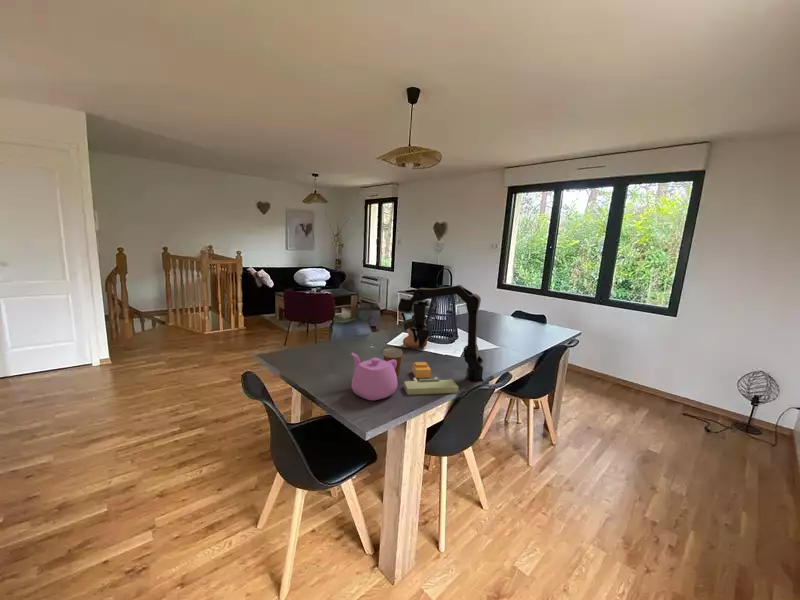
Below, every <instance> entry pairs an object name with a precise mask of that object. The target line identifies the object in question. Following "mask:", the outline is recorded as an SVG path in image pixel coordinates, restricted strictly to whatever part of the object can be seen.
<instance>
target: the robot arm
mask: <svg viewBox="0 0 800 600" xmlns="http://www.w3.org/2000/svg"><path fill="white" fill-rule="evenodd" d="M452 295H457V296H458V297H459V298H460V299H461V300H462V301H463V302H464V303H465V305H466V306H465V307H466V310H467V313H468V317H467V318H468V322H467V323H468V324H467V325H468V326H467V345H465V346H464V348H463V356H462V358H464V361H465V362H466V363H467V368H466V373H465V377H466V378H467V379H468V380H469V381H470V382H484V379H483V372H484V367H483V365H482V364H483V363H484V359H483V358H482V356H480V351H479V347H478V344H477V343H478V338H477V337H478V314H479V310H480V306H481V300H482V299H481V298H482V297H480V295H479V294H477V293H473V292H471V291H470V290H468V289H467V288H465V287H464V286H463V285H461V284H456V285H452V286H445V287H437V288H429V287H420V288H417V289H415V290H414V291H413V295H412V296H411V298H404V297H401V298H400V299H399V302H398V306H397V309H398V312H400V313H406V314H411V313H412V312H413V315H411V318H408V319H405V320H402V321H401V326H402V329H403V330H404V331H407V329H409V328H410V330H411V331H412V332H413V337H414V342H415V343H416V342H417V340H418V343H419V348H420V349H423V348H422V346H423V344H424V342H425V341H426V339H427V338H428V337H430V335H431V331H430V330H429V329H428V328H426V327H427V324H426V320H427V316H426V312H427V307H430V306H431V303H430V302H429V301H428V299H431V298H436V297H437V298H438V297H444V296H452ZM425 324H426V325H425ZM428 339H429V338H428Z"/></svg>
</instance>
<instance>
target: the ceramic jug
mask: <svg viewBox="0 0 800 600" xmlns="http://www.w3.org/2000/svg"><path fill="white" fill-rule="evenodd" d="M425 325H426V326H427V324H426V323H425ZM406 332H407V336H406V337H404V338H403V340H402V344H403V345H404V346H405V347H406V348H409V349H412V350H413V349H415V350H416V349H417V350H419V349H423V348H425V347H426V346H427V345H428V341H429V337H430V336H429V337H428V338H427V339H426V341H425V342H424V344H423V346H422V348H419V343H418V340H417V342H416V343H415V342H414V337H413V332H412V331H411V330H410V328H409V329H407V330H406Z"/></svg>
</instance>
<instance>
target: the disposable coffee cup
mask: <svg viewBox="0 0 800 600" xmlns="http://www.w3.org/2000/svg"><path fill="white" fill-rule="evenodd" d="M403 355H404V352H403V350H402V349H401V348H397V347H386V348H384V349H383V351H382V356H383V360H385V361H389V360H393V359H394V360H396V361H397V365H396V368H395V372H396V376H397V377H398V376H399V375H400V369H401V364H402V362H401V361H402V357H403Z"/></svg>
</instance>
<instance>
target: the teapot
mask: <svg viewBox="0 0 800 600" xmlns="http://www.w3.org/2000/svg"><path fill="white" fill-rule="evenodd" d="M351 356H352V357H353V359H354V373H353V376H352V380H351V389H352V392H353V393H354V394H355V395H357V396H358V397H360V398H362V399H364V400H365V399H366V400H368V401H377V400H378V401H379V400H381V399H385V398H388V397H390V396H392V395H393V394H394V393H395V392H396V390H397V388H398V376H396V372H395V368H396V365H397V361H396V360H394V359H393V360H389V361H385V360H384V359H380V358H379V357H372V358H370V359H366V360H364V361H362V362H361V359H360V357H359V356H358V354H357V353H355V352H351Z"/></svg>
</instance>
